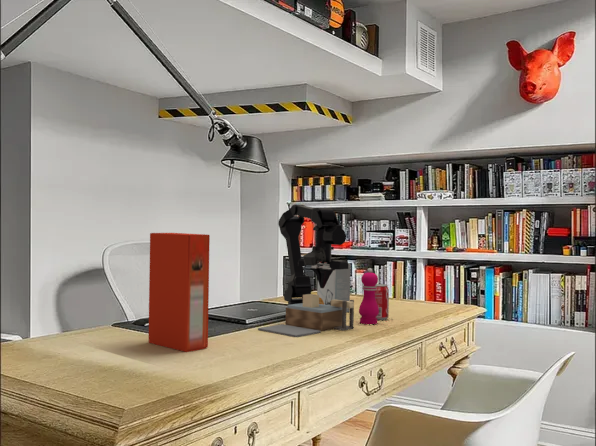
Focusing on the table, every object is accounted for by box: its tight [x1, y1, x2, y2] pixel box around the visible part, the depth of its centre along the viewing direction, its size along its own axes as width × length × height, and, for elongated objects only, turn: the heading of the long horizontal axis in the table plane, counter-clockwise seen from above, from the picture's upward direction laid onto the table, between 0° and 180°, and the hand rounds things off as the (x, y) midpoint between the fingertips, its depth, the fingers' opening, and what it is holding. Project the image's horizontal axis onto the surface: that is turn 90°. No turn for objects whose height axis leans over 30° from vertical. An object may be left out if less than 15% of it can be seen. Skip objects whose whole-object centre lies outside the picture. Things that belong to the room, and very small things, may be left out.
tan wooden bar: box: [331, 299, 355, 309], centre depth 212 cm, size 8×2×2 cm, turn 49°
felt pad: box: [257, 323, 322, 338], centre depth 204 cm, size 17×12×1 cm
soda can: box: [375, 283, 390, 321], centre depth 234 cm, size 7×7×13 cm
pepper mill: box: [358, 267, 379, 325], centre depth 224 cm, size 7×7×20 cm
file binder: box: [148, 232, 210, 353], centre depth 177 cm, size 8×17×32 cm, turn 48°
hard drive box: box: [316, 262, 352, 313], centre depth 255 cm, size 16×8×20 cm, turn 25°
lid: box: [286, 293, 342, 313], centre depth 215 cm, size 15×11×6 cm
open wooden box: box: [284, 299, 355, 332], centre depth 214 cm, size 20×13×10 cm, turn 49°
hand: (322, 288), depth 218 cm, fingers closed
